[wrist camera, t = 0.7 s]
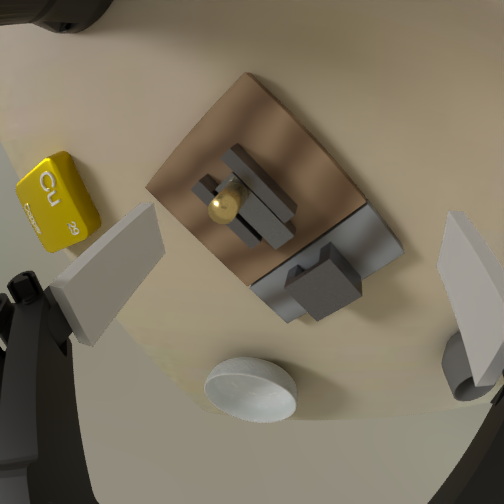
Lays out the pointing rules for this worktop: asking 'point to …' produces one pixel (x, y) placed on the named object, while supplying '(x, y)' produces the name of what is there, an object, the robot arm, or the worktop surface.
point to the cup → (460, 371)
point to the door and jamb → (289, 179)
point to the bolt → (248, 211)
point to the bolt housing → (258, 180)
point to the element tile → (58, 203)
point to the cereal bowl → (252, 390)
